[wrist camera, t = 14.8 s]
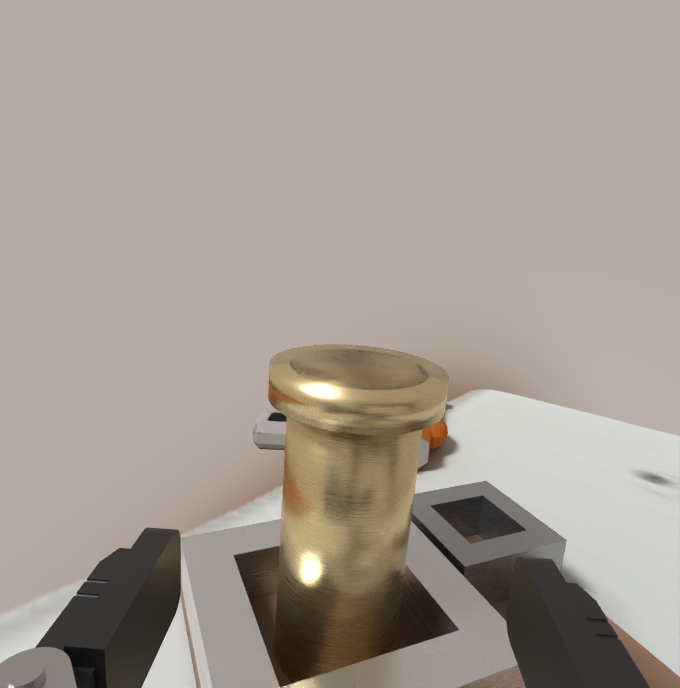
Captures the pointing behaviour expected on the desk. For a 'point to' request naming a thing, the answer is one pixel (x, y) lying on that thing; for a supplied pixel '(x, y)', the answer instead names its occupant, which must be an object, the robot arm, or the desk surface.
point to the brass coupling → (347, 497)
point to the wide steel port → (360, 678)
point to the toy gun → (273, 434)
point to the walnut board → (656, 674)
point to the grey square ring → (484, 534)
